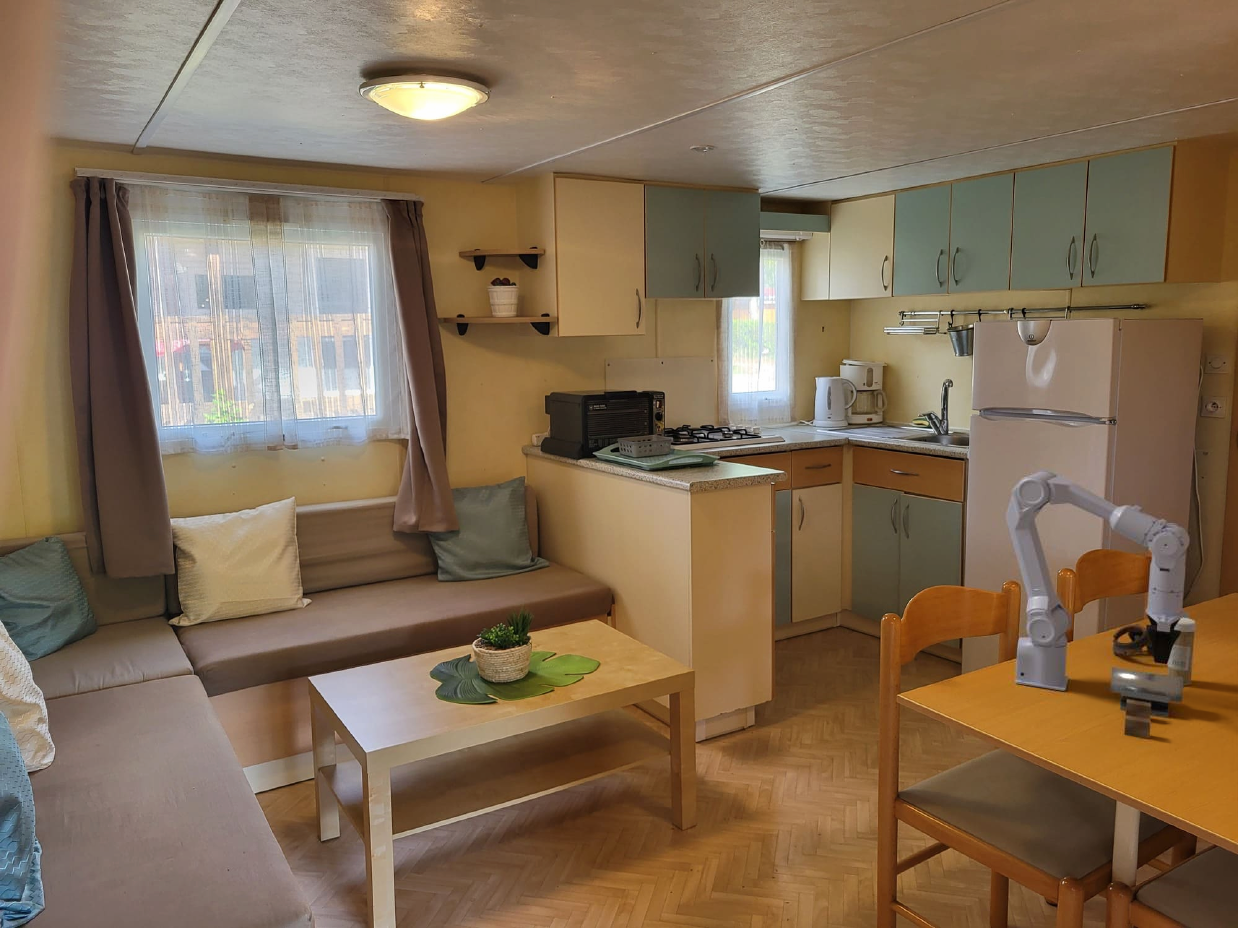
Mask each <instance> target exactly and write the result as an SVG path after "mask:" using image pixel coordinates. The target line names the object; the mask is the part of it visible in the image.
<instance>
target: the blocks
mask: <svg viewBox="0 0 1238 928" xmlns="http://www.w3.org/2000/svg"><path fill="white" fill-rule="evenodd" d="M1150 712H1151V703H1147V702H1141V701H1135V700H1129V699H1127V704H1126V710H1125V717H1124V731H1123V732H1124V735H1126V736H1132V737H1137V738H1143V739H1148V740H1149V739H1150V736H1151V735H1150V734H1151V721H1152V720H1151V715H1150Z"/></svg>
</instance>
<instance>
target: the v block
mask: <svg viewBox="0 0 1238 928" xmlns="http://www.w3.org/2000/svg"><path fill="white" fill-rule="evenodd" d="M1120 694H1121V695H1120V710H1122V711H1126V704H1127V699H1129V700H1135V701H1141V702H1147V703H1151V712H1150V716H1151V715H1152V716H1157V717H1163V718H1169V706H1170V701H1169V697H1167V696H1161V695H1154V694H1148V693H1142V692H1135V691H1129V690H1123V689H1122V692H1121V693H1120Z"/></svg>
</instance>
